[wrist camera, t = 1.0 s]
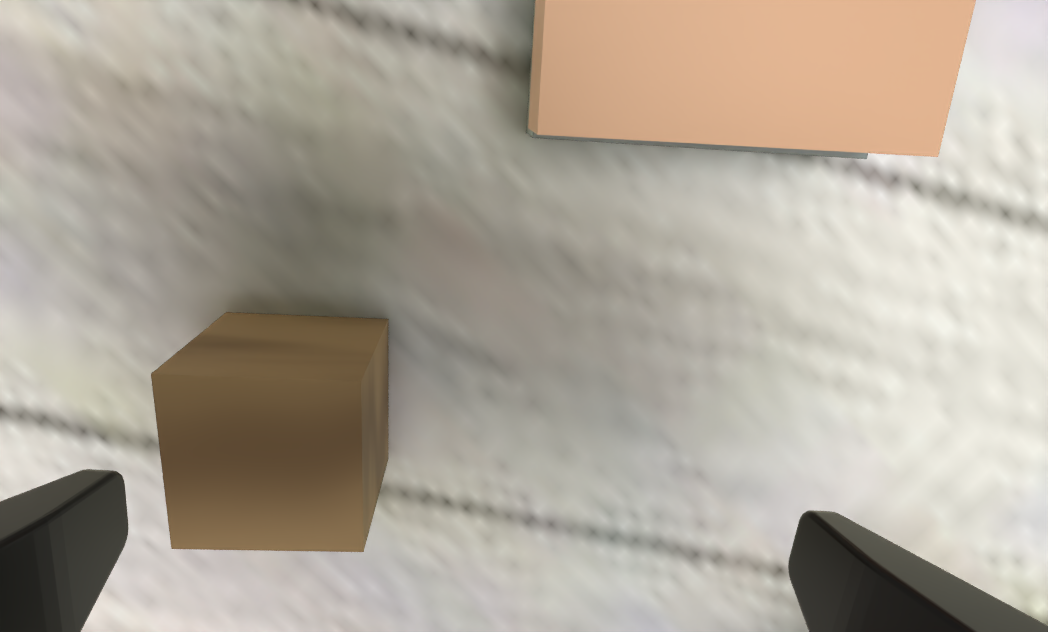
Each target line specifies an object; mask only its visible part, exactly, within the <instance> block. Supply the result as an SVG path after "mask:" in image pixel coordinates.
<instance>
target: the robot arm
mask: <svg viewBox="0 0 1048 632" xmlns="http://www.w3.org/2000/svg"><path fill="white" fill-rule="evenodd" d="M127 535H128V517H127V506H126V495H125V484H124V480H123V477H122V475H121V474H119V473H118V472H117V471H110V470H92V469H87V470H82V471H79V472H76V473H73V474H71V475H68V476H66V477H63V478H60V479H58V480H55V481H53V482H50V483H47V484H45V485H42V486H40V487H37V488H34V489H32V490H29V491H27V492H24V493H21V494H19V495H16V496H14V497H11V498H8V499H6V500H3V501H1V502H0V632H81V630H82V628H83V626H84V624H85V622H86V620H87V618H88V616H89V614H90V612H91V610H92V608H93V606H94V605H95V603H96V601H97V599H98V597H99V595H100V593H101V591H102V589H103V587H104V585H105V583H106V581H107V579H108V577H109V575H110V573H111V571H112V569H113V568H114V566H115V564H116V562H117V560H118V558H119V556H120V554H121V552H122V550H123V548H124V546H125V543H126V540H127ZM788 568H789V576H790V580H791V583H792V586H793V588H794V591H795V594H796V597H797V599H798V602H799V605H800V608H801V610H802V613H803V616H804V619H805V621H806V624H807V627H808V630H809V632H1048V626H1047V625H1045V624H1044V623H1042V622H1040V621H1038V620H1036V619H1034V618H1032V617H1030V616H1029V615H1027V614H1025V613H1023V612H1021V611H1019V610H1017V609H1016V608H1014V607H1012V606H1010V605H1008V604H1006V603H1004V602H1002V601H1001V600H999V599H997V598H995V597H993V596H991V595H989V594H987V593H986V592H984V591H982V590H980V589H978V588H976V587H974V586H973V585H971V584H969V583H967V582H965V581H963V580H961V579H959V578H958V577H956V576H954V575H952V574H950V573H948V572H946V571H944V570H943V569H941V568H939V567H937V566H935V565H933V564H931V563H930V562H928V561H926V560H924V559H922V558H920V557H918V556H916V555H915V554H913V553H911V552H909V551H907V550H905V549H903V548H902V547H900V546H898V545H896V544H894V543H892V542H890V541H888V540H887V539H885V538H883V537H881V536H879V535H877V534H875V533H873V532H872V531H870V530H868V529H866V528H864V527H862V526H860V525H859V524H857V523H855V522H853V521H851V520H849V519H847V518H845V517H844V516H842V515H840V514H838V513H835V512H829V511H807V512H805V513H804V514H803V515H802V516H801V518H800V520H799V524H798V527H797V531H796V535H795V539H794V542H793V546H792V550H791V554H790V558H789V565H788Z"/></svg>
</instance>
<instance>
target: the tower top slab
mask: <svg viewBox="0 0 1048 632" xmlns="http://www.w3.org/2000/svg"><path fill="white" fill-rule="evenodd" d="M975 1H976V0H535V17H534V35H533V52H532V70H531V88H530V106H529V124H528V129H530V130H531V131H533V132H534V133H536V134H537V135H551V136H569V137H588V138H606V139H624V140H642V141H660V142H678V143H696V144H714V145H732V146H750V147H768V148H787V149H805V150H823V151H841V152H859V153H877V154H895V155H913V156H931V157H938V154H939V150H940V146H941V142H942V138H943V134H944V130H945V125H946V121H947V117H948V113H949V109H950V105H951V101H952V97H953V92H954V88H955V84H956V80H957V76H958V72H959V68H960V63H961V59H962V55H963V51H964V47H965V43H966V39H967V35H968V30H969V26H970V22H971V18H972V14H973V10H974V6H975Z"/></svg>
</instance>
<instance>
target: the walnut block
mask: <svg viewBox="0 0 1048 632" xmlns="http://www.w3.org/2000/svg"><path fill="white" fill-rule="evenodd" d="M151 378H152V386H153V395H154V403H155V412H156V420H157V429H158V437H159V446H160V455H161V463H162V472H163V480H164V489H165V497H166V506H167V514H168V523H169V531H170V540H171V549H212V550H274V551H336V552H364V548H365V544H366V540H367V537H368V533H369V529H370V525H371V522H372V518H373V514H374V511H375V507H376V503H377V499H378V496H379V492H380V488H381V484H382V481H383V477H384V473H385V469H386V466H387V462H388V319H377V318H353V317H328V316H304V315H280V314H255V313H231V312H226V313H225V314H223V315H222V316H221V317H220V318H219V319H217V320H216V321H215V322H214V323H213V324H211V325H210V326H209V327H208V328H206V329H205V330H204V331H203V332H202V333H200V334H199V335H198V336H197V337H196V338H194V339H193V340H192V341H191V342H189V343H188V344H187V345H186V346H185V347H183V348H182V349H181V350H180V351H178V352H177V353H176V354H175V355H174V356H172V357H171V358H170V359H169V360H168V361H166V362H165V363H164V364H163V365H161V366H160V367H159V368H158V369H157V370H155V371H154V372H153V373H152V374H151Z"/></svg>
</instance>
